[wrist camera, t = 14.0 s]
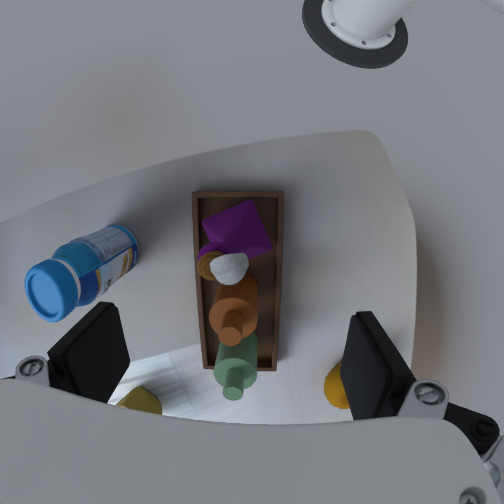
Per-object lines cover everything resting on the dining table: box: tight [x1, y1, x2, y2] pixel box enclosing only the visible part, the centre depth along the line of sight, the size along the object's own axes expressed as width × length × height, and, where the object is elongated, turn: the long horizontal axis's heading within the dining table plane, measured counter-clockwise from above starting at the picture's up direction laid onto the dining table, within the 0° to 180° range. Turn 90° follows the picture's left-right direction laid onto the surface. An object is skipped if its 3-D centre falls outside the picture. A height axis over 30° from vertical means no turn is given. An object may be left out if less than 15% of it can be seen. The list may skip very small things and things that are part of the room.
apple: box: [324, 362, 350, 409], centre depth 44 cm, size 9×9×9 cm
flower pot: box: [115, 386, 162, 415], centre depth 48 cm, size 9×9×9 cm
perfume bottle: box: [197, 200, 273, 285], centre depth 33 cm, size 8×8×18 cm
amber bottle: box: [209, 272, 258, 346], centre depth 37 cm, size 6×6×14 cm
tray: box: [192, 191, 284, 371], centre depth 43 cm, size 30×13×2 cm, turn 0°
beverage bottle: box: [25, 225, 139, 322], centre depth 34 cm, size 8×8×20 cm
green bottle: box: [214, 330, 258, 401], centre depth 40 cm, size 6×6×14 cm
